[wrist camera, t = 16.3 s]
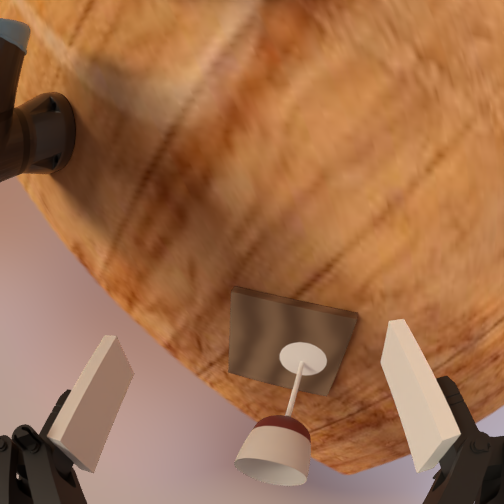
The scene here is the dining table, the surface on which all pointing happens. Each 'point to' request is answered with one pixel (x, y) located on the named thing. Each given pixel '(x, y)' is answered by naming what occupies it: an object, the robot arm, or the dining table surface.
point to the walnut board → (285, 337)
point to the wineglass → (283, 429)
